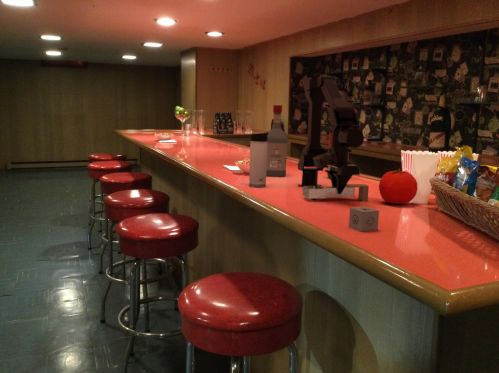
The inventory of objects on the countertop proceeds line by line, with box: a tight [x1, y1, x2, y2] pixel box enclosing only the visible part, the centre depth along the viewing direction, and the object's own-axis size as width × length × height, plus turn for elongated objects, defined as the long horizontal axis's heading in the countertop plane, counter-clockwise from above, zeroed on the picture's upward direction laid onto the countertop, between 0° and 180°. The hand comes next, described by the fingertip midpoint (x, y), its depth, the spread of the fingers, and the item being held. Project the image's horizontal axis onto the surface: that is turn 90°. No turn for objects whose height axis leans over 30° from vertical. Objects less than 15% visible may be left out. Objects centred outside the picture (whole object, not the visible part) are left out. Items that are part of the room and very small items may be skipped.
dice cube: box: [348, 206, 380, 233], centre depth 114 cm, size 5×5×5 cm
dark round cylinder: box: [310, 186, 318, 201], centre depth 149 cm, size 2×2×4 cm
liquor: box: [266, 104, 288, 178], centre depth 198 cm, size 9×9×30 cm
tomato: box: [378, 168, 418, 205], centre depth 146 cm, size 12×12×11 cm
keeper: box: [346, 183, 370, 202], centre depth 151 cm, size 7×4×5 cm, turn 98°
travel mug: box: [248, 131, 270, 188], centre depth 170 cm, size 6×7×20 cm
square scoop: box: [302, 185, 356, 199], centre depth 150 cm, size 16×6×3 cm, turn 103°
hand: (337, 193), depth 150 cm, fingers closed on square scoop, 3 cm apart
